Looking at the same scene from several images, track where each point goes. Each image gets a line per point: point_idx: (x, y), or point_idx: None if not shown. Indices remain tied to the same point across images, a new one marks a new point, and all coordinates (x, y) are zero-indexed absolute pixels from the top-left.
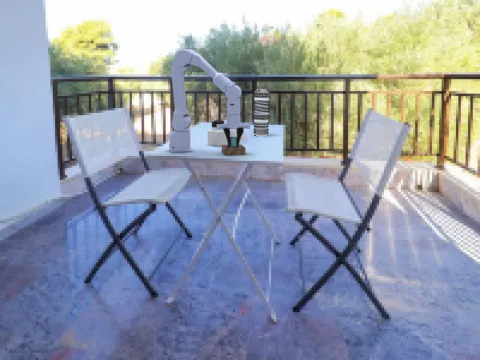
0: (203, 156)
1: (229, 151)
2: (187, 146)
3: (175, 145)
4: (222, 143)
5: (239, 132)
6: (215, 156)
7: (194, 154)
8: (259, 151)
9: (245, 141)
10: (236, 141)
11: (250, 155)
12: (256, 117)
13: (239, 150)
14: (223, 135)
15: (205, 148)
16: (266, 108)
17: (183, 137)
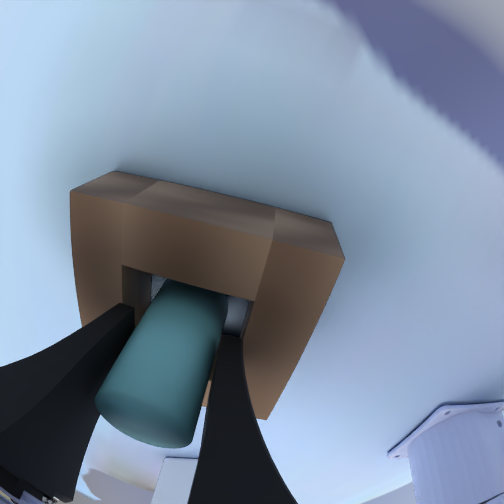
0: (500, 255)
1: (280, 222)
2: (457, 433)
3: (496, 432)
4: (195, 467)
5: (4, 410)
6: (437, 211)
7: (488, 340)
8: (15, 263)
9: (90, 449)
10: (122, 350)
11: (84, 126)
12: (48, 500)
13: (149, 196)
14: (180, 501)
15: (314, 451)
16: (13, 502)
17: (489, 469)
